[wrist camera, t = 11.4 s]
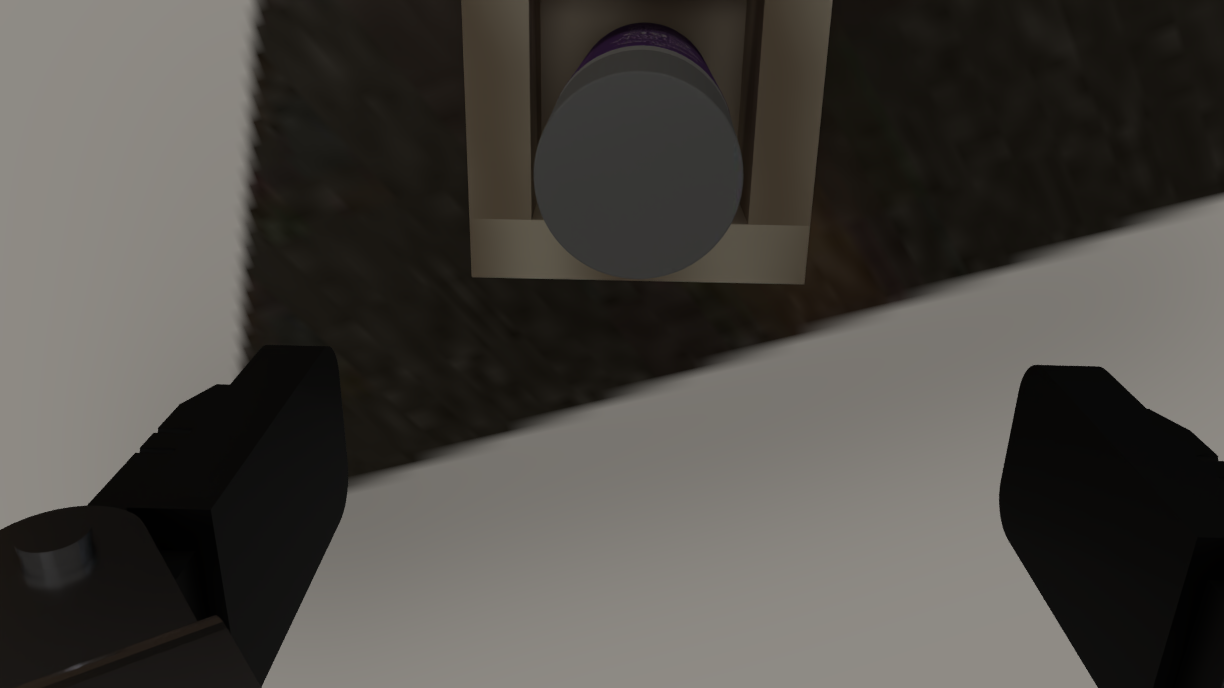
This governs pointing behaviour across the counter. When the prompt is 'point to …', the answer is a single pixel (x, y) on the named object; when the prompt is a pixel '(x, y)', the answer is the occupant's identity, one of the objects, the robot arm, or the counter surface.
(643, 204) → the container
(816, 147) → the socket block
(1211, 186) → the counter surface
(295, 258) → the counter surface
